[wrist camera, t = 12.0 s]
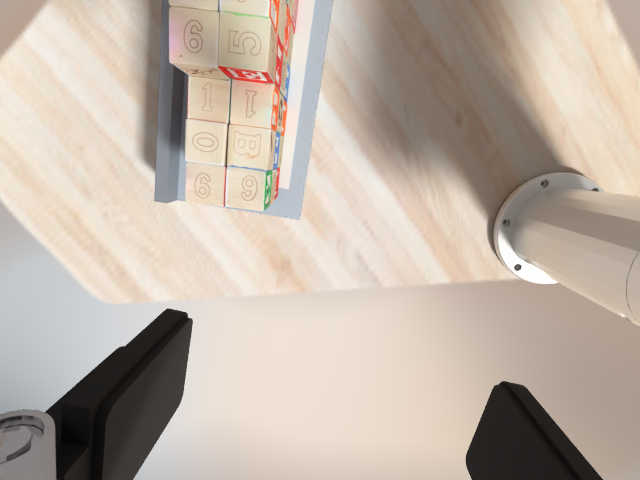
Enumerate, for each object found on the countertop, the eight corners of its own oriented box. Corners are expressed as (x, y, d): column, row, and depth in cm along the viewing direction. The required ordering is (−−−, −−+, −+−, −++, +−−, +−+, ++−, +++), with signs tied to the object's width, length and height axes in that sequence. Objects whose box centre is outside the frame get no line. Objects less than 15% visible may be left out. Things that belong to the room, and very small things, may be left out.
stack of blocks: (279, 198, 34) (255, 221, 22) (218, 190, 34) (162, 209, 22) (303, -44, 29) (289, -183, 17) (232, -54, 29) (168, -201, 17)
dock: (340, -53, 32) (344, -94, 26) (300, 214, 38) (297, 224, 33) (194, -80, 31) (167, -127, 26) (178, 195, 38) (154, 201, 32)
